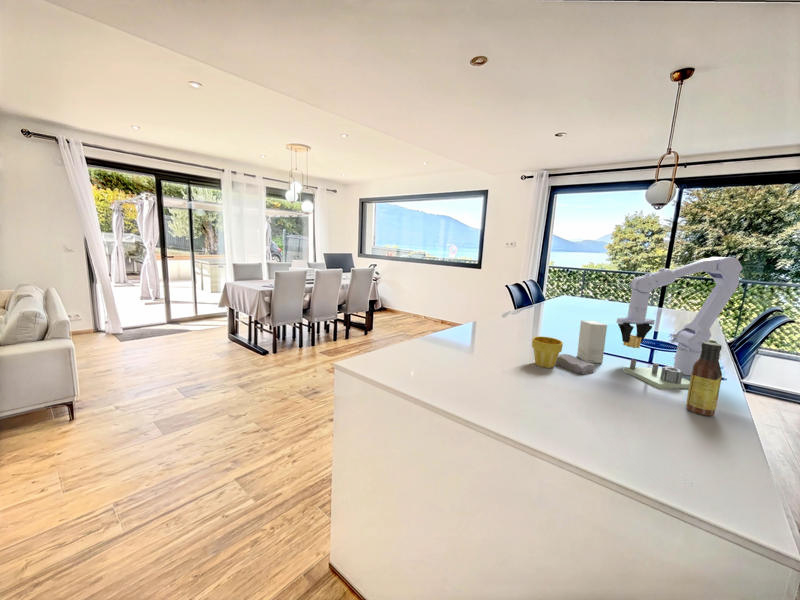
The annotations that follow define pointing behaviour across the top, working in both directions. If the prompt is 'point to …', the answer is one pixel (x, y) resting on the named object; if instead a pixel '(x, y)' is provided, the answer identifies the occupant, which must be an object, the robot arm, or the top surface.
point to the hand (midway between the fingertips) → (632, 342)
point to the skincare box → (592, 341)
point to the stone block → (574, 364)
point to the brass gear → (633, 341)
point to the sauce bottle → (705, 381)
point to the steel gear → (671, 375)
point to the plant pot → (546, 351)
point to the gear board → (654, 376)
